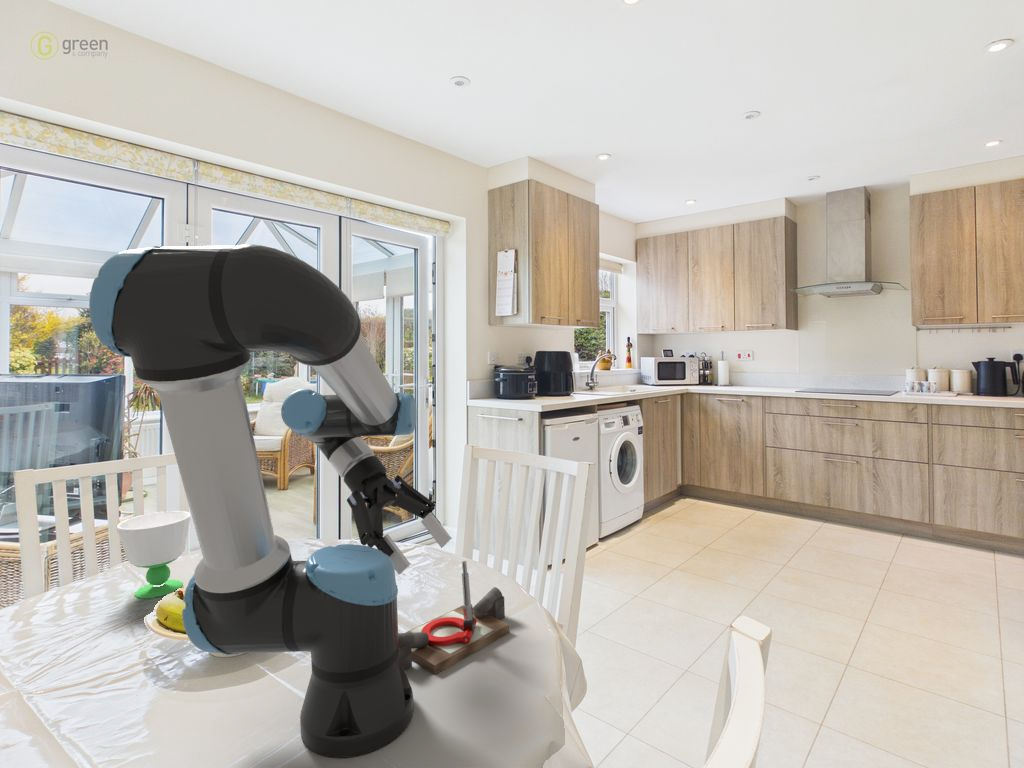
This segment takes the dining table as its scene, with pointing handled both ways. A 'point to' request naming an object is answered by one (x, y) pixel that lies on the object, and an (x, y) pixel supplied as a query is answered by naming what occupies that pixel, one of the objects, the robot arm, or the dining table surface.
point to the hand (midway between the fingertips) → (427, 555)
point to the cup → (155, 547)
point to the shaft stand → (444, 656)
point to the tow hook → (456, 619)
